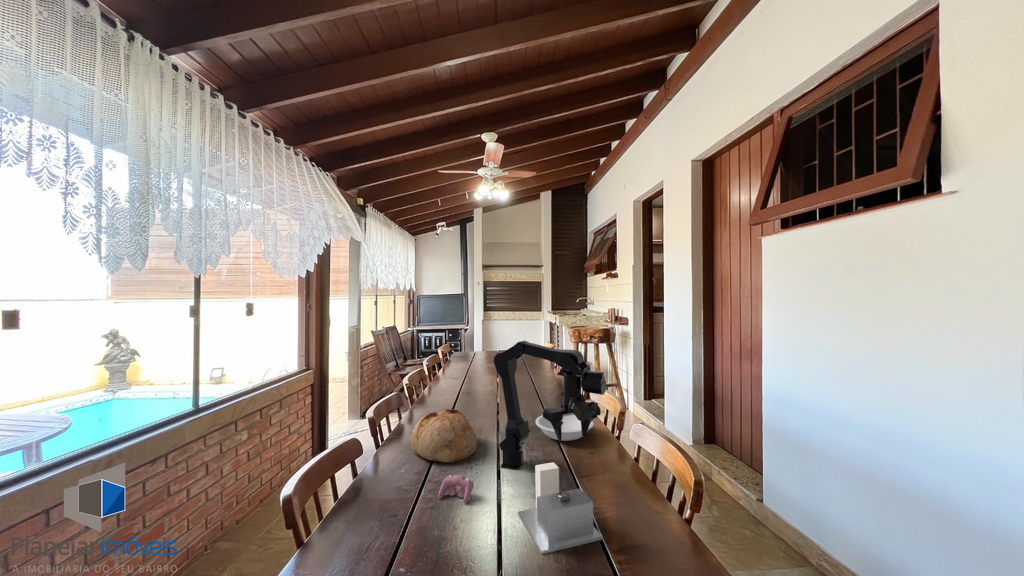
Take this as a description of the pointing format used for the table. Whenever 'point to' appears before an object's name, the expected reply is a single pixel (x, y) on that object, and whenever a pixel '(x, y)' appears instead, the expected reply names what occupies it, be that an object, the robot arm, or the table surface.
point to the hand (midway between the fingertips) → (571, 438)
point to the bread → (443, 436)
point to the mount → (561, 521)
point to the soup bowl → (563, 427)
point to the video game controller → (450, 485)
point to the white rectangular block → (546, 479)
